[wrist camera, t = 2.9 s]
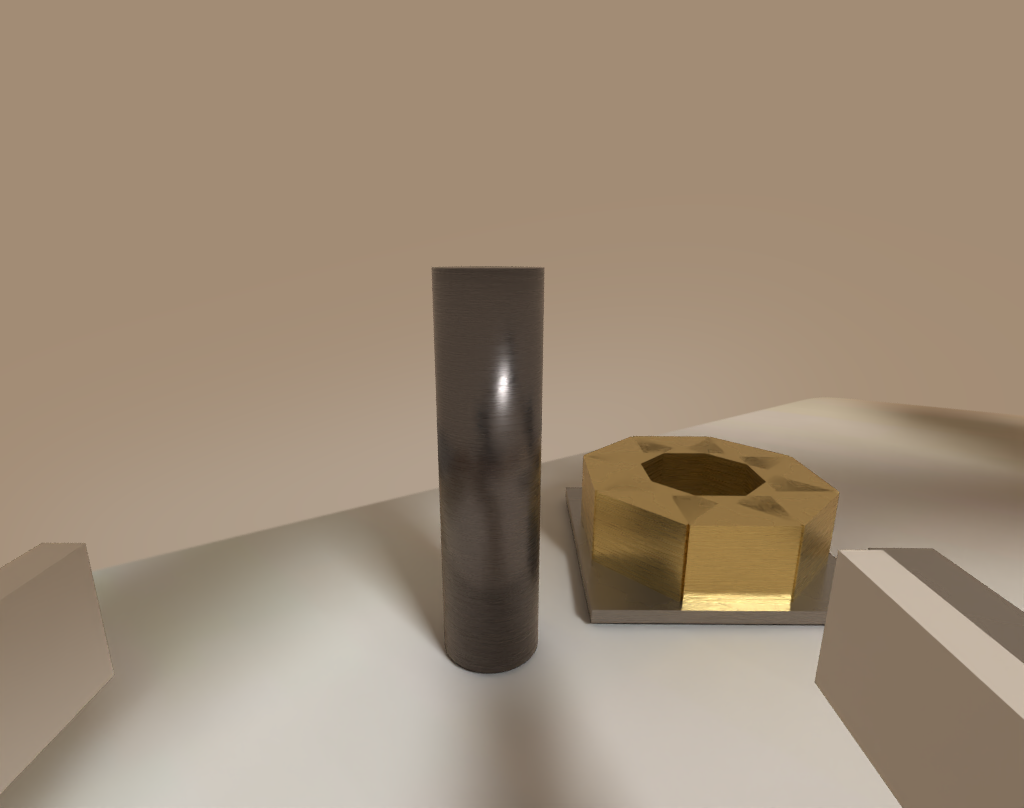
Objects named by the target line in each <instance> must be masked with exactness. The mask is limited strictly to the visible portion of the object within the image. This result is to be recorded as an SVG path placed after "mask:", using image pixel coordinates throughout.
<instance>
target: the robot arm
mask: <svg viewBox="0 0 1024 808" xmlns="http://www.w3.org/2000/svg"><path fill="white" fill-rule="evenodd" d="M113 676H114V671H113V667H112V662H111V657H110V653H109V648H108V644H107V639H106V635H105V630H104V626H103V621H102V617H101V612H100V607H99V603H98V598H97V594H96V589H95V585H94V580H93V576H92V571H91V567H90V562H89V558H88V553H87V549H86V544H85V543H41V544H39V545H38V546H36V547H34V548H33V549H31V550H29V551H28V552H26V553H24V554H23V555H21V556H19V557H18V558H16V559H14V560H13V561H11V562H10V563H8V564H6V565H5V566H3V567H1V568H0V794H1V793H2V792H3V791H4V790H5V789H6V788H7V787H8V786H9V785H10V784H11V783H12V782H13V780H14V779H15V778H16V777H17V776H18V775H19V774H20V773H21V772H22V771H23V770H24V769H25V768H26V767H27V766H28V765H29V764H30V763H31V762H32V761H33V760H34V759H35V757H36V756H37V755H38V754H39V753H40V752H41V751H42V750H43V749H44V748H45V747H46V746H47V745H48V744H49V743H50V742H51V741H52V740H53V739H54V738H55V737H56V736H57V735H58V733H59V732H60V731H61V730H62V729H63V728H64V727H65V726H66V725H67V724H68V723H69V722H70V721H71V720H72V719H73V718H74V717H75V716H76V715H77V714H78V713H79V712H80V710H81V709H82V708H83V707H84V706H85V705H86V704H87V703H88V702H89V701H90V700H91V699H92V698H93V697H94V696H95V695H96V694H97V693H98V692H99V691H100V690H101V689H102V688H103V686H104V685H105V684H106V683H107V682H108V681H109V680H110V679H111V678H112V677H113ZM815 683H816V685H817V686H818V688H819V689H820V690H821V692H822V693H823V695H824V696H825V698H826V699H827V700H828V702H829V703H830V705H831V706H832V708H833V709H834V711H835V712H836V713H837V715H838V716H839V718H840V719H841V721H842V722H843V723H844V725H845V726H846V728H847V729H848V731H849V732H850V733H851V735H852V736H853V738H854V739H855V741H856V742H857V743H858V745H859V746H860V748H861V749H862V751H863V752H864V753H865V755H866V756H867V758H868V759H869V761H870V762H871V763H872V765H873V766H874V768H875V769H876V771H877V772H878V773H879V775H880V776H881V778H882V779H883V781H884V782H885V783H886V785H887V786H888V788H889V789H890V791H891V792H892V793H893V795H894V796H895V798H896V799H897V801H898V802H899V803H900V805H901V806H902V808H1024V663H1022V662H1021V661H1020V660H1019V659H1017V658H1016V657H1015V656H1014V655H1012V654H1011V653H1010V652H1009V651H1007V650H1006V649H1005V648H1004V647H1002V646H1001V645H1000V644H999V643H997V642H996V641H995V640H994V639H993V638H991V637H990V636H989V635H988V634H986V633H985V632H984V631H983V630H981V629H980V628H979V627H978V626H976V625H975V624H974V623H973V622H971V621H970V620H969V619H968V618H966V617H965V616H964V615H963V614H961V613H960V612H959V611H958V610H956V609H955V608H954V607H953V606H952V605H950V604H949V603H948V602H947V601H945V600H944V599H943V598H942V597H940V596H939V595H938V594H937V593H935V592H934V591H933V590H932V589H930V588H929V587H928V586H927V585H925V584H924V583H923V582H922V581H920V580H919V579H918V578H917V577H915V576H914V575H913V574H912V573H910V572H909V571H908V570H907V569H906V568H904V567H903V566H902V565H901V564H899V563H898V562H897V561H896V560H894V559H893V558H892V557H891V556H889V555H888V554H887V553H886V552H884V551H883V550H838V555H837V560H836V566H835V571H834V577H833V583H832V588H831V594H830V599H829V605H828V610H827V616H826V622H825V627H824V633H823V638H822V644H821V649H820V655H819V661H818V666H817V672H816V677H815Z"/></svg>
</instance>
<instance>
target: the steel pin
mask: <svg viewBox="0 0 1024 808" xmlns="http://www.w3.org/2000/svg"><path fill="white" fill-rule="evenodd" d="M432 291H433V316H434V317H433V319H434V344H435V345H434V347H435V375H436V376H435V377H436V403H437V404H436V405H437V432H438V462H439V491H440V520H441V548H442V577H443V605H444V634H445V648H446V651H447V653H448V655H449V656H450V657H451V659H452V660H453V661H454V662H456V663H457V664H458V665H460V666H462V667H464V668H466V669H469V670H472V671H475V672H481V673H498V672H504V671H508V670H511V669H514V668H516V667H518V666H520V665H522V664H524V663H525V662H526V661H527V660H529V659H530V658H531V656H532V655H533V654H534V652H535V650H536V648H537V644H538V602H539V545H540V488H541V431H542V374H543V372H542V371H543V370H542V369H543V315H544V268H542V267H502V266H501V267H499V266H498V267H497V266H495V267H494V266H480V267H479V266H472V267H471V266H470V267H432Z"/></svg>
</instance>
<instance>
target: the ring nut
mask: <svg viewBox="0 0 1024 808" xmlns="http://www.w3.org/2000/svg"><path fill="white" fill-rule="evenodd" d="M838 498H839V491H837V490H836V489H835V488H833V487H832V486H830V485H829V484H828V483H826V482H825V481H824V480H822V479H821V478H820V477H818V476H817V475H816V474H814V473H813V472H811V471H810V470H809V469H807V468H806V467H805V466H803V465H802V464H801V463H799V462H798V461H797V460H795V459H794V458H792V457H789V456H787V455H783V454H779V453H775V452H771V451H767V450H762V449H758V448H754V447H750V446H746V445H742V444H738V443H734V442H729V441H725V440H721V439H717V438H713V437H710V438H709V437H674V436H633V437H629V438H626V439H624V440H621V441H618V442H616V443H613V444H611V445H608V446H606V447H603V448H601V449H598V450H596V451H593V452H591V453H588V454H586V455H584V456H583V479H582V488H566V501H567V506H568V511H569V516H570V521H571V526H572V531H573V536H574V541H575V545H576V550H577V555H578V560H579V565H580V570H581V575H582V580H583V585H584V590H585V595H586V600H587V605H588V609H589V614H590V619H591V623H711V624H825V622H826V616H827V610H828V605H829V599H830V594H831V588H832V583H833V577H834V571H835V566H836V559H835V558H834V557H833V556H832V555H831V554H830V553H829V550H830V545H831V539H832V533H833V527H834V521H835V516H836V510H837V504H838Z"/></svg>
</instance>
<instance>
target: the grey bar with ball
mask: <svg viewBox="0 0 1024 808" xmlns="http://www.w3.org/2000/svg"><path fill="white" fill-rule="evenodd" d="M868 550H883V551H884V552H886V553H887V554H888V555H889V556H891V557H892V558H893V559H894V560H896V561H897V562H898V563H899V564H901V565H902V566H903V567H904V568H906V569H907V570H908V571H909V572H910V573H912V574H913V575H914V576H915V577H917V578H918V579H919V580H920V581H922V582H923V583H924V584H925V585H927V586H928V587H929V588H930V589H932V590H933V591H934V592H935V593H937V594H938V595H939V596H940V597H942V598H943V599H944V600H945V601H947V602H948V603H949V604H950V605H952V606H953V607H954V608H955V609H956V610H958V611H959V612H960V613H961V614H963V615H964V616H965V617H966V618H968V619H969V620H970V621H971V622H973V623H974V624H975V625H976V626H978V627H979V628H980V629H981V630H983V631H984V632H985V633H986V634H988V635H989V636H990V637H991V638H993V639H994V640H995V641H996V642H997V643H999V644H1000V645H1001V646H1002V647H1004V648H1005V649H1006V650H1007V651H1009V652H1010V653H1011V654H1012V655H1014V656H1015V657H1016V658H1017V659H1019V660H1020V661H1021V662H1022V663H1024V612H1023V611H1021V610H1020V609H1019V608H1017V607H1016V606H1014V605H1013V604H1011V603H1010V602H1009V601H1007V600H1006V599H1004V598H1003V597H1001V596H1000V595H999V594H997V593H996V592H994V591H993V590H991V589H990V588H988V587H987V586H986V585H984V584H983V583H981V582H980V581H978V580H977V579H976V578H974V577H973V576H971V575H970V574H968V573H967V572H966V571H964V570H963V569H961V568H960V567H958V566H957V565H956V564H954V563H953V562H951V561H950V560H948V559H947V558H946V557H944V556H943V555H941V554H940V553H938V552H937V551H936V550H934V549H927V548H868Z"/></svg>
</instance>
